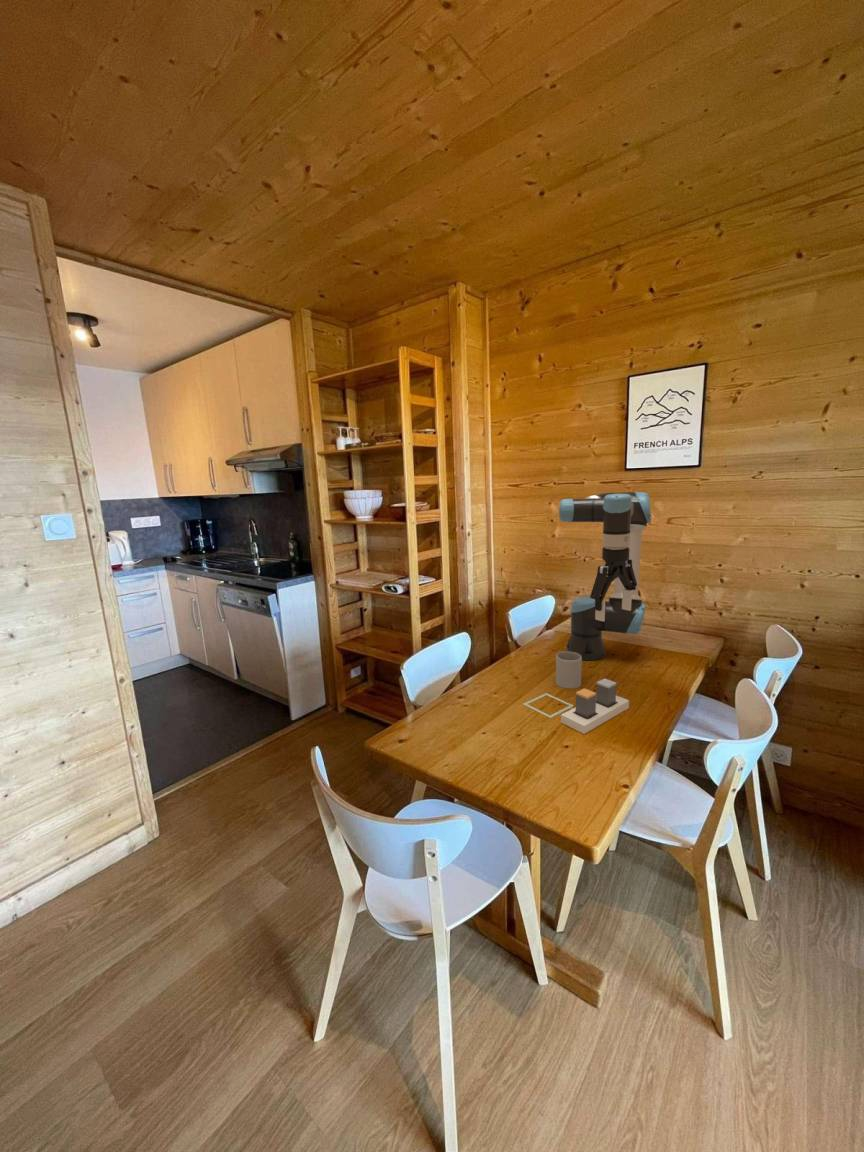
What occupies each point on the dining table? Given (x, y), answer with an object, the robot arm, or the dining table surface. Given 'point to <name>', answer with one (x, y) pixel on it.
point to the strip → (600, 717)
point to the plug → (585, 703)
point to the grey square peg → (606, 693)
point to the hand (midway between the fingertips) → (613, 614)
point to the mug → (568, 669)
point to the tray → (545, 713)
